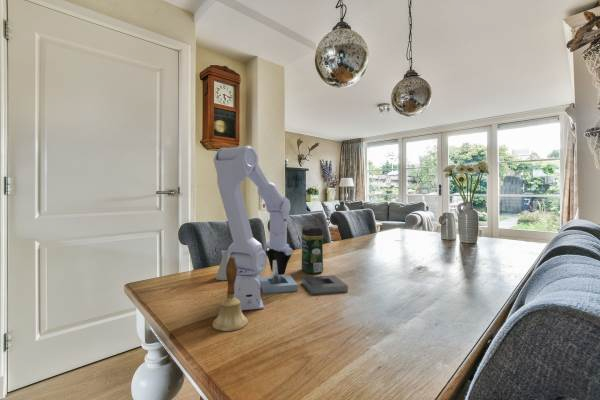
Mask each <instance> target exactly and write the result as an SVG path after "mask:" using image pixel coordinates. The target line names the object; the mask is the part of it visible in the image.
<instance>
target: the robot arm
mask: <svg viewBox="0 0 600 400" xmlns="http://www.w3.org/2000/svg"><path fill="white" fill-rule="evenodd" d="M213 164H214V168H215V172H216V175H217V176H216V180H217V181H216V182H217V187H218V190H219V195H220V198H221V200H222V205H223V209H224V211H225V216H226V220H227V223H228V226H229V230H230V234H231V235H230V236H231V238H232V243H231V244H229V246H228V247H227V250H228V252H229V257H235V262H236V265H237V276H236V279H235V284H234V290H235V291H234V292H235V293H234V297H235V298H236V299H239V300H240V306H241V311H249V310H250V311H251V310H258V309H259V310H260V309H261V310H262V309H264V308H265V306H264V302H263V300H262V298H261V286H260V277H261V273H263V271H264V270H265V268H266V266H267V264H268V263H269V266H270V270H271V272H272V273H273V259H274V258H276V262H277V270H278V275H282V274H284V275H285V274H286V269H287V266H288V263H289V261H290V259H291V257H292V255H293V248H292V247H290V244H288V240H287V239H288V237H287V236H288V230H287V229H288V227H287V226H288V219H289V216H290V215H289V214H290V211H291V207H292V206H291V202H290V199H289V198H287V197H286V196H283V195H282V193H281V192H280V190H279V189H278V188H277V186H276V184H275V182H273V181H270V180H268V179H267V178H266V175H265V173H263V171H262V169H261V167H260V165H259V155H258V154H257V153H256V151H255V149H254V148H253V147H252V146H251V145H245V146H234V147H220V148H219V149H218V150H217V151H216V153H215V155H214V157H213ZM247 178H249V179H250V180H251V181H252V182H253V184H254V185H255V186H256V187H257V194H258V195H259V197H261V199H262V201H264V204H265V208H266V211H267V212H268V213H269V241H266V242H265V245H264V246H265V249H267V250H264V248H263V245H262V243H261V242H260V241H259V240H257V239H256V238H255V237H254V234H253V231H252V227H251V223H250V220H249V215H248V210H247V206H246V203H245V199H244V198H245V197H244V195H243V190H242V186H241V184H242V182H244V181H245V180H246V179H247ZM268 261H269V262H268ZM267 262H268V263H267Z"/></svg>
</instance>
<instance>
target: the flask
mask: <svg viewBox="0 0 600 400" xmlns="http://www.w3.org/2000/svg"><path fill="white" fill-rule="evenodd" d="M220 253H221V261H220V264H219V268H218V270H217V273H216V275H215V280H217V281H227V277H226V267H227V263H228V261H229V252H228V249H227V250H221V252H220Z"/></svg>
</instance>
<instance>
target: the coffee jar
mask: <svg viewBox="0 0 600 400" xmlns="http://www.w3.org/2000/svg"><path fill="white" fill-rule="evenodd" d="M323 242H324V229H323V228H321V227H319V226H316V225H313V224H309V225H304V226H303V227H302V228H301V270H302V271H303V272H304V273H306V274H314V275H315V274H320V273H323V271H324V258H323V257H324V254H323V252H324V251H323V250H324V249H323V247H324V246H323V245H324V244H323Z"/></svg>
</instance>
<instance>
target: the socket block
mask: <svg viewBox="0 0 600 400" xmlns="http://www.w3.org/2000/svg"><path fill="white" fill-rule="evenodd" d="M301 283H302V285H303V286H304V287H305V288H306V290H307V291H308V292H309V293H310V295H313V296H315V295H326V294H336V293H337V294H339V293H347V292H349V285H348V284H347V283H345V282H344V281H342V279H340V278H339V277H338V276H336V275H331V274H330V275H319V276H318V275H317V276H304V277H302V278H301Z"/></svg>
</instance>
